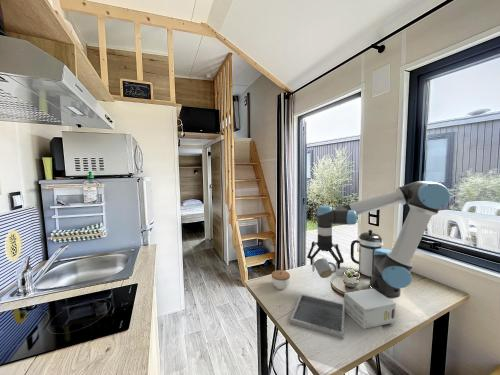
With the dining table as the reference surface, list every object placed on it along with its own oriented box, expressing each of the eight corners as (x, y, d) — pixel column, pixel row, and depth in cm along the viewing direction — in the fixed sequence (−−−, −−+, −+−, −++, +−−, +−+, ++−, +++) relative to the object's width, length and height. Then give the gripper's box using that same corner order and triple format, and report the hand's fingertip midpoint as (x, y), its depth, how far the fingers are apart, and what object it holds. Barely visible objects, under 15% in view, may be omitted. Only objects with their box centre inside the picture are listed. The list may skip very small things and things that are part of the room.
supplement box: (363, 330, 92) (364, 309, 91) (343, 310, 104) (343, 292, 104) (395, 322, 96) (396, 302, 95) (372, 305, 109) (372, 287, 108)
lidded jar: (272, 281, 133) (272, 266, 133) (290, 283, 131) (290, 268, 130) (270, 290, 123) (270, 275, 122) (289, 292, 121) (289, 276, 120)
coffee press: (377, 270, 146) (378, 226, 144) (386, 281, 131) (388, 233, 129) (350, 268, 150) (350, 225, 148) (355, 279, 135) (356, 232, 133)
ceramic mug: (321, 280, 118) (319, 273, 113) (315, 267, 124) (312, 260, 120) (339, 273, 117) (338, 266, 112) (332, 261, 124) (330, 253, 119)
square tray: (345, 307, 107) (345, 303, 106) (343, 339, 87) (343, 334, 87) (300, 297, 116) (300, 293, 116) (290, 323, 96) (290, 319, 96)
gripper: (348, 234, 116) (348, 273, 118) (304, 230, 126) (304, 266, 128) (348, 238, 109) (348, 279, 111) (301, 233, 120) (301, 271, 121)
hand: (325, 272), depth 119 cm, fingers closed on ceramic mug, 12 cm apart
